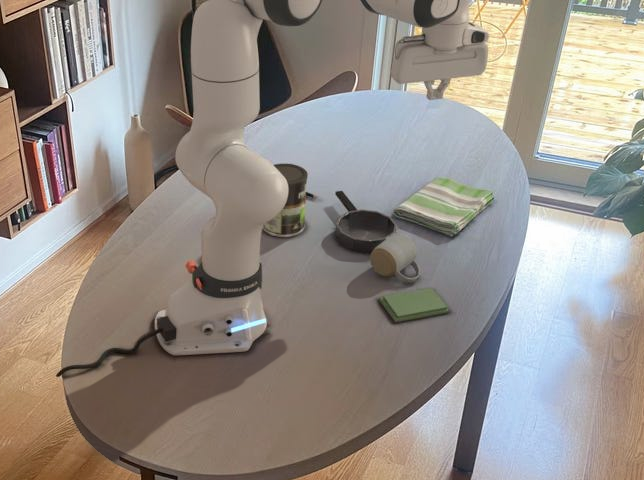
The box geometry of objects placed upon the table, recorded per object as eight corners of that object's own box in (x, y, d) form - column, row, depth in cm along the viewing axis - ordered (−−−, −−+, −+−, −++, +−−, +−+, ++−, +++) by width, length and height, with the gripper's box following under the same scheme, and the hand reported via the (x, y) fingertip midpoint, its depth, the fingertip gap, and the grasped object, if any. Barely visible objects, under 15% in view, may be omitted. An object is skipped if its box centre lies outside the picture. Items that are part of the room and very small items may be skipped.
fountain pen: (320, 199, 207) (320, 194, 206) (317, 201, 206) (317, 196, 205) (272, 183, 213) (272, 178, 212) (270, 185, 212) (270, 180, 211)
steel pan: (349, 257, 186) (350, 244, 184) (312, 205, 204) (312, 193, 202) (404, 248, 189) (406, 235, 187) (363, 198, 207) (364, 186, 205)
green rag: (395, 322, 166) (395, 317, 166) (379, 300, 173) (379, 295, 172) (448, 312, 169) (449, 307, 169) (430, 291, 175) (431, 286, 175)
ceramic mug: (365, 270, 181) (369, 241, 176) (387, 255, 186) (391, 227, 181) (405, 290, 176) (410, 260, 171) (426, 274, 181) (432, 245, 176)
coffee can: (307, 217, 199) (310, 165, 191) (301, 239, 191) (303, 186, 183) (266, 213, 201) (267, 160, 192) (257, 234, 193) (258, 181, 184)
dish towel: (390, 216, 200) (391, 203, 198) (433, 181, 215) (435, 168, 213) (454, 239, 192) (456, 226, 190) (495, 201, 207) (497, 188, 205)
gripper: (403, 42, 159) (395, 109, 167) (496, 33, 164) (484, 99, 172) (389, 32, 164) (382, 98, 172) (481, 23, 169) (469, 88, 177)
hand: (434, 98), depth 172 cm, fingers closed
